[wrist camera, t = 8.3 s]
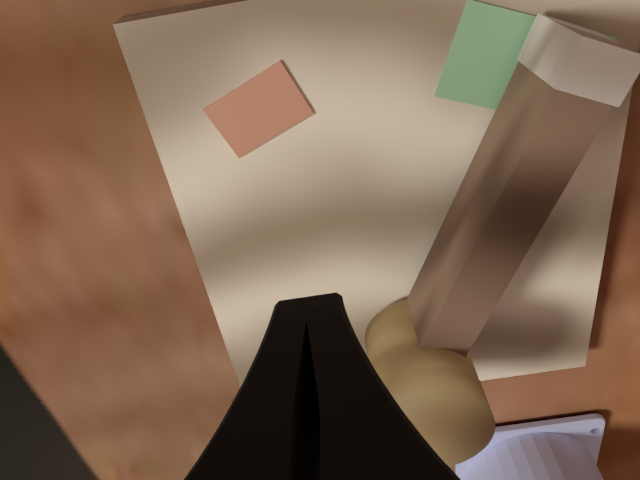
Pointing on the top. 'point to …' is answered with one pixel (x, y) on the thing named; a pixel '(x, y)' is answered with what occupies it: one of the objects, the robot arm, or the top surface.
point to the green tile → (484, 54)
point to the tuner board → (360, 166)
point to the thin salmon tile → (259, 109)
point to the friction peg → (495, 229)
